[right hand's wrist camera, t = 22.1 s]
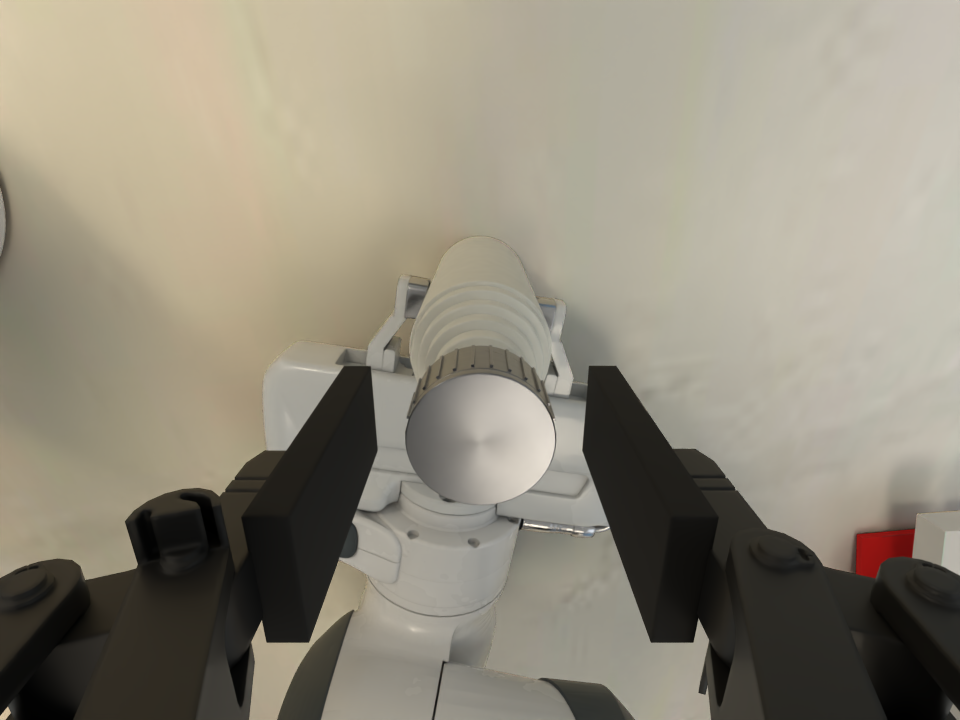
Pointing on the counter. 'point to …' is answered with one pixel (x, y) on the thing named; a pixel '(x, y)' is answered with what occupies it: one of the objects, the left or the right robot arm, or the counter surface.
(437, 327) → the bottle
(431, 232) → the counter surface
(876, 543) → the toy
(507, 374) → the cap
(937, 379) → the counter surface
